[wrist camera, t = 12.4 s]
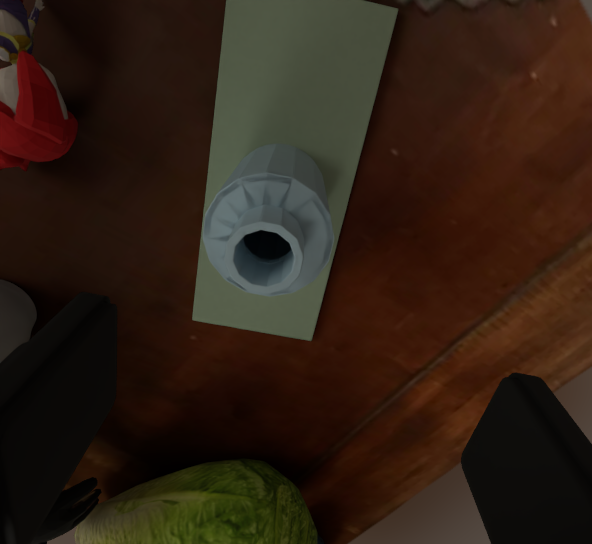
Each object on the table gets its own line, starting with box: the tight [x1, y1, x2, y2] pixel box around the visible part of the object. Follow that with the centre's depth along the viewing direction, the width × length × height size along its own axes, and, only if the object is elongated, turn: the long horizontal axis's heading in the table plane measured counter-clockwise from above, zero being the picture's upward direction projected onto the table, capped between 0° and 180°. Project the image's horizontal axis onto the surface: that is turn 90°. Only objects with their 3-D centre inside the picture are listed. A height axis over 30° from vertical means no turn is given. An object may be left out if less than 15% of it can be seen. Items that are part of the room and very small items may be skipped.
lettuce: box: [74, 458, 317, 544], centre depth 37 cm, size 15×24×14 cm
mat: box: [192, 0, 398, 341], centre depth 29 cm, size 24×10×1 cm, turn 169°
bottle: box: [203, 144, 334, 297], centre depth 23 cm, size 6×6×12 cm
